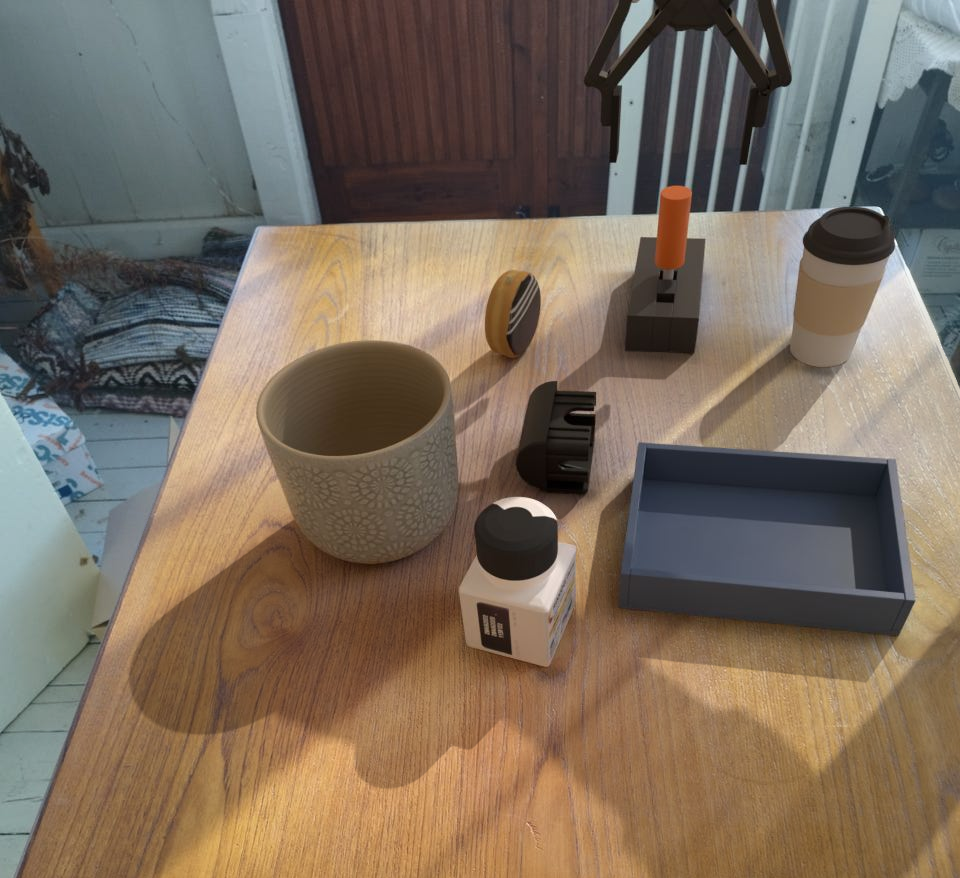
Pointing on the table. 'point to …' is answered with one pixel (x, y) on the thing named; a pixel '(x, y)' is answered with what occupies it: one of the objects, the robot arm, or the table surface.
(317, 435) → the planter
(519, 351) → the doughnut
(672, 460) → the bin
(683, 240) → the screwdriver
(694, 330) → the holder
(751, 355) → the table surface
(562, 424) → the end cap
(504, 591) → the container
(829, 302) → the coffee cup
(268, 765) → the table surface
